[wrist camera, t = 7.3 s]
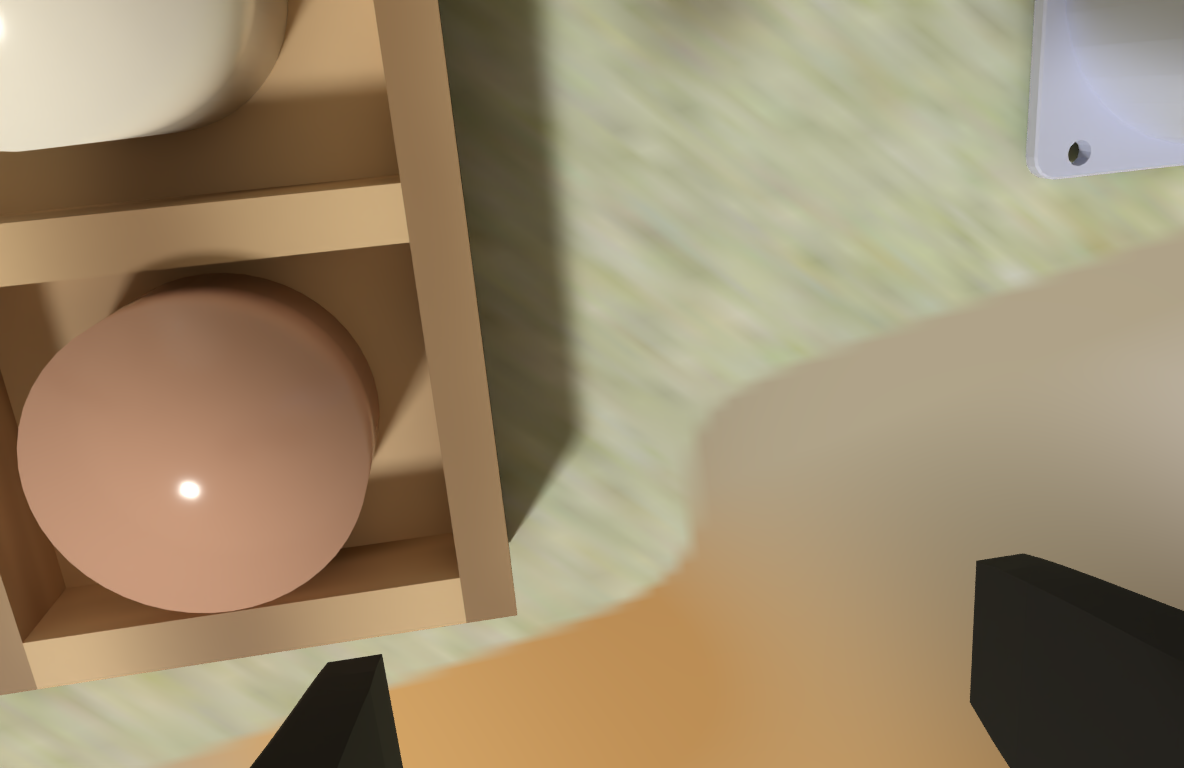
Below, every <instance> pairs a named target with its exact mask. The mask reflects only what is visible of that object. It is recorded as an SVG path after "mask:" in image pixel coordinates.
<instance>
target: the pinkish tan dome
mask: <svg viewBox="0 0 1184 768" xmlns="http://www.w3.org/2000/svg"><path fill="white" fill-rule="evenodd" d="M379 419H380V410H379V399H378V393H377V389H376V384H375V380H374V377H373V374H372V372H371V369H370V367H369V364H368V361H367V360H366V358H365V356H364V354H363V352H362V351H361V349H360V347H359V345H358V344H357V343H356V341H355V340H354V338H353V337H352V336H351V334H350V333H349V332H348V330H347V329H346V328H345V327H344V326H343V325H342V324H341V323H340V322H339V321H338V320H337V319H336V318H335V317H334V316H333V315H332V314H331V313H329V312H328V311H327V310H326V309H325V308H323V307H322V306H321V305H320V304H318V303H317V302H315V301H313V300H312V299H310V298H309V297H307V296H306V295H304V294H302V293H300V292H298V291H296V290H294V289H292V288H290V287H288V286H285V285H283V284H280V283H277V282H274V281H271V280H268V279H265V278H260V277H255V276H250V275H245V274H233V273H209V274H200V275H194V276H188V277H183V278H180V279H177V280H174V281H170V282H167V283H164V284H162V285H160V286H158V287H156V288H154V289H152V290H149V291H147V292H146V293H144V294H143V295H141V296H139V297H138V298H136V299H135V300H133V301H132V302H130V303H128V304H127V305H125V306H124V307H122V308H121V309H119V310H117V311H116V312H114V313H113V314H111V315H109V316H108V317H106V318H105V319H103V320H102V321H100V322H98V323H97V324H95V325H94V326H92V327H91V328H89V329H87V330H86V331H84V332H83V333H81V334H80V335H78V336H77V337H75V338H74V339H72V340H71V341H70V342H69V343H68V344H67V345H65V346H64V347H63V348H62V349H61V350H60V351H59V352H57V353H56V355H55V356H54V357H53V358H52V359H51V360H50V362H49V363H48V364H47V365H46V366H45V368H44V369H43V370H42V372H41V373H40V375H39V376H38V378H37V380H36V381H35V383H34V385H33V386H32V388H31V390H30V393H29V395H28V397H27V400H26V402H25V405H24V407H23V411H22V415H21V419H20V423H19V427H18V440H17V458H18V470H19V474H20V479H21V483H22V488H23V491H24V494H25V496H26V499H27V501H28V504H29V507H30V509H31V511H32V513H33V515H34V517H35V518H36V520H37V522H38V524H39V526H40V527H41V529H42V530H43V532H44V533H45V534H46V536H47V537H48V538H49V540H50V541H51V543H52V544H53V545H54V546H55V547H56V548H57V549H58V551H59V552H60V553H61V554H62V555H63V556H64V557H65V558H66V559H67V560H68V561H69V562H70V563H71V564H73V565H74V566H75V567H76V568H78V569H79V570H80V571H81V572H82V573H84V574H85V575H86V576H88V577H89V578H91V579H92V580H94V581H96V582H97V583H99V584H100V585H102V586H103V587H105V588H107V589H109V590H111V591H113V592H115V593H117V594H119V595H121V596H123V597H126V598H128V599H131V600H134V601H137V602H139V603H142V604H145V605H149V606H153V607H157V608H161V609H165V610H172V611H180V612H187V613H217V612H228V611H235V610H240V609H245V608H250V607H254V606H257V605H260V604H263V603H266V602H269V601H272V600H274V599H276V598H279V597H281V596H283V595H285V594H287V593H289V592H291V591H293V590H294V589H296V588H298V587H299V586H301V585H302V584H304V583H306V582H307V581H309V580H310V579H311V578H312V577H314V576H315V575H316V574H317V573H318V572H320V571H321V570H322V569H323V568H324V567H325V566H326V565H327V564H328V563H329V562H330V561H331V560H332V559H333V558H334V557H335V556H336V554H337V553H338V552H339V550H340V549H341V548H342V546H343V545H344V543H345V542H346V540H347V539H348V537H349V535H350V534H351V532H352V530H353V528H354V526H355V524H356V522H357V519H358V516H359V514H360V511H361V508H362V505H363V501H364V497H365V492H366V488H367V483H368V479H369V474H370V470H371V466H372V461H373V457H374V452H375V448H376V443H377V437H378V432H379Z"/></svg>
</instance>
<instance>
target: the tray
mask: <svg viewBox="0 0 1184 768" xmlns="http://www.w3.org/2000/svg"><path fill="white" fill-rule="evenodd" d="M209 273H233V274H245V275H250V276H255V277H260V278H265V279H268V280H271V281H274V282H277V283H280V284H283V285H285V286H288V287H290V288H292V289H294V290H296V291H298V292H300V293H302V294H304V295H306V296H307V297H309V298H310V299H312V300H313V301H315V302H317V303H318V304H320V305H321V306H322V307H323V308H325V309H326V310H327V311H328V312H329V313H331V314H332V315H333V316H334V317H335V318H336V319H337V320H338V321H339V322H340V323H341V324H342V325H343V326H344V327H345V328H346V329H347V330H348V332H349V333H350V334H351V336H352V337H353V338H354V340H355V341H356V343H357V344H358V345H359V347H360V349H361V351H362V352H363V354H364V356H365V358H366V360H367V361H368V364H369V367H370V369H371V372H372V374H373V377H374V380H375V384H376V389H377V393H378V399H379V410H380V419H379V432H378V437H377V443H376V448H375V452H374V457H373V461H372V466H371V470H370V474H369V479H368V483H367V488H366V492H365V497H364V501H363V505H362V508H361V511H360V514H359V516H358V519H357V522H356V524H355V526H354V528H353V530H352V532H351V534H350V535H349V537H348V539H347V540H346V542H345V543H344V545H343V546H342V548H341V549H340V550H339V552H338V553H337V554H336V556H335V557H334V558H333V559H332V560H331V561H330V562H329V563H328V564H327V565H326V566H325V567H324V568H323V569H322V570H321V571H320V572H318V573H317V574H316V575H315V576H314V577H312V578H311V579H310V580H309V581H307V582H306V583H304V584H302V585H301V586H299V587H298V588H296V589H294V590H293V591H291V592H289V593H287V594H285V595H283V596H281V597H279V598H276V599H274V600H272V601H269V602H266V603H263V604H260V605H257V606H254V607H250V608H245V609H240V610H235V611H228V612H217V613H187V612H180V611H172V610H165V609H161V608H157V607H153V606H149V605H145V604H142V603H139V602H137V601H134V600H131V599H128V598H126V597H123V596H121V595H119V594H117V593H115V592H113V591H111V590H109V589H107V588H105V587H103V586H102V585H100V584H99V583H97V582H96V581H94V580H92V579H91V578H89V577H88V576H86V575H85V574H84V573H82V572H81V571H80V570H79V569H78V568H76V567H75V566H74V565H73V564H71V563H70V562H69V561H68V560H67V559H66V558H65V557H64V556H63V555H62V554H61V553H60V552H59V551H58V549H57V548H56V547H55V546H54V545H53V544H52V543H51V541H50V540H49V538H48V537H47V536H46V534H45V533H44V532H43V530H42V529H41V527H40V526H39V524H38V522H37V520H36V518H35V517H34V515H33V513H32V511H31V509H30V507H29V504H28V501H27V499H26V496H25V494H24V491H23V488H22V483H21V479H20V474H19V470H18V458H17V440H18V427H19V423H20V419H21V415H22V411H23V407H24V405H25V402H26V400H27V397H28V395H29V393H30V390H31V388H32V386H33V385H34V383H35V381H36V380H37V378H38V376H39V375H40V373H41V372H42V370H43V369H44V368H45V366H46V365H47V364H48V363H49V362H50V360H51V359H52V358H53V357H54V356H55V355H56V353H57V352H59V351H60V350H61V349H62V348H63V347H64V346H65V345H67V344H68V343H69V342H70V341H71V340H72V339H74V338H75V337H77V336H78V335H80V334H81V333H83V332H84V331H86V330H87V329H89V328H91V327H92V326H94V325H95V324H97V323H98V322H100V321H102V320H103V319H105V318H106V317H108V316H109V315H111V314H113V313H114V312H116V311H117V310H119V309H121V308H122V307H124V306H125V305H127V304H128V303H130V302H132V301H133V300H135V299H136V298H138V297H139V296H141V295H143V294H144V293H146V292H147V291H149V290H152V289H154V288H156V287H158V286H160V285H162V284H164V283H167V282H170V281H174V280H177V279H180V278H183V277H188V276H194V275H200V274H209ZM515 615H517V609H516V600H515V592H514V584H513V576H512V568H511V559H510V551H509V543H508V535H507V528H506V520H505V512H504V504H503V497H502V489H501V481H500V474H499V466H498V458H497V450H496V443H495V435H494V427H493V419H492V412H491V404H490V396H489V389H488V381H487V373H486V365H485V358H484V350H483V342H482V335H481V327H480V319H479V311H478V304H477V296H476V288H475V280H474V273H473V265H472V257H471V250H470V242H469V234H468V226H467V219H466V211H465V203H464V196H463V188H462V180H461V172H460V165H459V157H458V149H457V141H456V134H455V126H454V118H453V111H452V103H451V95H450V87H449V80H448V72H447V64H446V57H445V49H444V41H443V33H442V26H441V18H440V10H439V2H438V0H288V16H287V26H286V31H285V36H284V41H283V44H282V47H281V50H280V53H279V56H278V59H277V61H276V63H275V65H274V67H273V69H272V71H271V73H270V75H269V76H268V77H267V79H266V80H265V82H264V83H263V85H262V86H261V88H260V89H259V90H258V91H257V92H256V93H255V94H254V95H253V96H252V97H251V98H250V100H249V101H247V102H246V103H245V104H244V105H242V106H241V107H240V108H239V109H237V110H236V111H235V112H233V113H232V114H230V115H228V116H226V117H225V118H223V119H221V120H220V121H217V122H215V123H212V124H210V125H207V126H205V127H202V128H198V129H194V130H190V131H185V132H177V133H169V134H161V135H153V136H144V137H136V138H128V139H120V140H112V141H103V142H95V143H87V144H79V145H70V146H62V147H54V148H46V149H37V150H28V151H20V152H9V151H0V695H4V694H10V693H17V692H23V691H30V690H36V689H43V688H49V687H56V686H62V685H69V684H75V683H82V682H88V681H94V680H101V679H107V678H114V677H120V676H127V675H133V674H140V673H146V672H153V671H159V670H166V669H172V668H178V667H185V666H191V665H198V664H204V663H211V662H217V661H224V660H230V659H237V658H243V657H250V656H256V655H263V654H269V653H275V652H282V651H288V650H295V649H301V648H308V647H314V646H321V645H327V644H334V643H340V642H347V641H353V640H359V639H366V638H372V637H379V636H385V635H392V634H398V633H405V632H411V631H418V630H424V629H431V628H437V627H443V626H450V625H456V624H463V623H469V622H476V621H482V620H489V619H495V618H502V617H508V616H515Z"/></svg>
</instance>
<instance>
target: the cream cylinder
mask: <svg viewBox="0 0 1184 768" xmlns="http://www.w3.org/2000/svg"><path fill="white" fill-rule="evenodd" d="M287 16H288V0H0V151H9V152H20V151H28V150H37V149H46V148H54V147H62V146H70V145H79V144H87V143H95V142H103V141H112V140H120V139H128V138H136V137H144V136H153V135H161V134H169V133H177V132H185V131H190V130H194V129H198V128H202V127H205V126H207V125H210V124H212V123H215V122H217V121H220V120H221V119H223V118H225V117H226V116H228V115H230V114H232V113H233V112H235V111H236V110H237V109H239V108H240V107H241V106H242V105H244V104H245V103H246V102H247V101H249V100H250V98H251V97H252V96H253V95H254V94H255V93H256V92H257V91H258V90H259V89H260V88H261V86H262V85H263V83H264V82H265V80H266V79H267V77H268V76H269V75H270V73H271V71H272V69H273V67H274V65H275V63H276V61H277V59H278V56H279V53H280V50H281V47H282V44H283V41H284V36H285V31H286V26H287Z"/></svg>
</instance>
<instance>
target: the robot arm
mask: <svg viewBox="0 0 1184 768" xmlns="http://www.w3.org/2000/svg"><path fill="white" fill-rule="evenodd" d="M1074 142H1076V143H1077V144H1078V146H1079V153H1078V157H1077V158H1076V159H1075V161H1074V162H1073V163H1071V162H1070V161H1069V158H1068V152H1069V149H1070V147H1071V146H1072V145H1073V144H1074ZM1026 162H1027V167H1028V168H1029V170H1030V172H1031V173H1032V174H1034V175H1035V176H1037V177H1040V178H1047V179H1062V178H1071V177H1080V176H1089V175H1098V174H1107V173H1116V172H1125V171H1135V170H1144V169H1153V168H1162V167H1171V166H1180V165H1184V0H1035V5H1034V23H1033V40H1032V58H1031V75H1030V93H1029V111H1028V128H1027V146H1026ZM970 703H971V705H972V707H973V708H974V709H975V712H976V713H977V715H978V717H979V718H980V720H981V722H982V723H983V725H984V727H985V728H986V730H987V732H988V734H989V735H990V737H991V739H992V740H993V742H994V744H995V745H996V747H997V748H998V750H999V751H1000V753H1001V755H1002V756H1003V758H1004V759H1005V761H1006V762H1007V764H1008V766H1009V767H1010V768H1184V611H1182V610H1180V609H1177V608H1174V607H1172V606H1169V605H1166V604H1164V603H1161V602H1159V601H1156V600H1153V599H1151V598H1148V597H1145V596H1143V595H1140V594H1138V593H1135V592H1132V591H1130V590H1127V589H1124V588H1122V587H1119V586H1117V585H1114V584H1112V583H1109V582H1106V581H1104V580H1101V579H1098V578H1096V577H1093V576H1090V575H1087V574H1085V573H1082V572H1079V571H1077V570H1074V569H1071V568H1068V567H1065V566H1063V565H1060V564H1057V563H1054V562H1050V561H1048V560H1044V559H1041V558H1038V557H1034V556H1031V555H1027V554H1017V555H1011V556H1004V557H998V558H992V559H985V560H979V561H976V582H975V605H974V626H973V646H972V669H971V690H970ZM250 768H403V766H402V761H401V755H400V749H399V744H398V738H397V733H396V728H395V723H394V717H393V711H392V706H391V701H390V695H389V690H388V684H387V679H386V673H385V668H384V663H383V657H382V654H379V655H373V656H367V657H360V658H354V659H348V660H341V661H335V662H328V663H327V664H326V665H325V667H324V668H323V669H322V670H321V672H320V673H319V674H318V675H317V677H316V678H315V680H314V681H313V682H312V684H311V685H310V686H309V688H308V689H307V691H306V692H305V693H304V695H303V696H302V698H301V699H300V700H299V702H298V703H297V705H296V706H295V708H294V709H293V710H292V712H291V713H290V715H289V716H288V717H287V719H286V720H285V721H284V723H283V724H282V726H281V727H280V728H279V730H278V731H277V732H276V734H275V735H274V737H273V738H272V739H271V741H270V742H269V743H268V745H267V746H266V747H265V749H264V750H263V751H262V753H261V754H260V755H259V756H258V758H257V759H256V760H255V762H254V763H253V764H252V766H251V767H250Z"/></svg>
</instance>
